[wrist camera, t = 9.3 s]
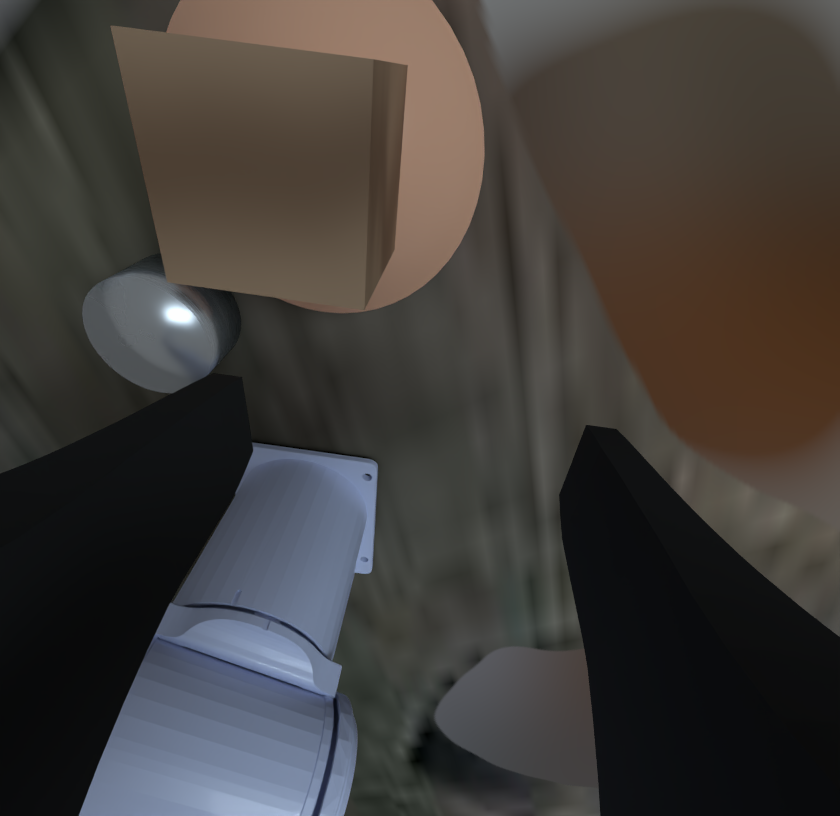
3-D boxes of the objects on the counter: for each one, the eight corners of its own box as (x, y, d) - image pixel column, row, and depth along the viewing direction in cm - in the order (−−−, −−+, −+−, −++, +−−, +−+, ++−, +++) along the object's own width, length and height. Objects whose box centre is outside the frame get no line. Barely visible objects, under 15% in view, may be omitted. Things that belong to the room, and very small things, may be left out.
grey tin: (248, 364, 22) (220, 400, 20) (146, 351, 22) (105, 384, 20) (233, 260, 19) (197, 286, 17) (115, 245, 19) (63, 269, 17)
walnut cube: (394, 249, 16) (364, 310, 12) (248, 229, 16) (167, 282, 12) (407, 65, 13) (373, 59, 9) (227, 42, 13) (110, 25, 9)
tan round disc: (461, 302, 19) (458, 329, 17) (221, 271, 19) (191, 294, 17) (511, -28, 13) (517, -48, 11) (168, -66, 14) (113, -91, 11)
